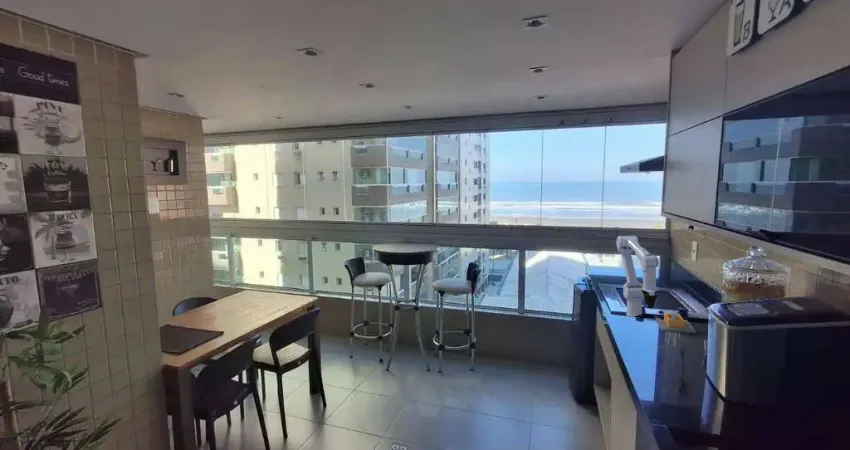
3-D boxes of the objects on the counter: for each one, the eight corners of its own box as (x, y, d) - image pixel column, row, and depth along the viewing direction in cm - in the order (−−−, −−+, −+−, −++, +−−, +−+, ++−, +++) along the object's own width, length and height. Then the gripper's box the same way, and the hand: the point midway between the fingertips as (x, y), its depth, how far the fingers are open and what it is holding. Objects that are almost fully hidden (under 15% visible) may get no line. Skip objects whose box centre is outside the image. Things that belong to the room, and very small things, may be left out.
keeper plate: (654, 318, 210) (654, 306, 210) (685, 320, 205) (685, 308, 205) (661, 330, 192) (661, 318, 191) (696, 333, 187) (696, 320, 186)
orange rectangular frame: (664, 319, 204) (664, 313, 204) (679, 320, 202) (679, 314, 202) (668, 326, 194) (668, 319, 194) (684, 327, 192) (684, 320, 191)
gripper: (661, 283, 192) (661, 310, 193) (655, 277, 205) (655, 302, 206) (644, 282, 194) (644, 309, 195) (640, 276, 208) (640, 301, 209)
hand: (649, 306), depth 201 cm, fingers open, 7 cm apart
